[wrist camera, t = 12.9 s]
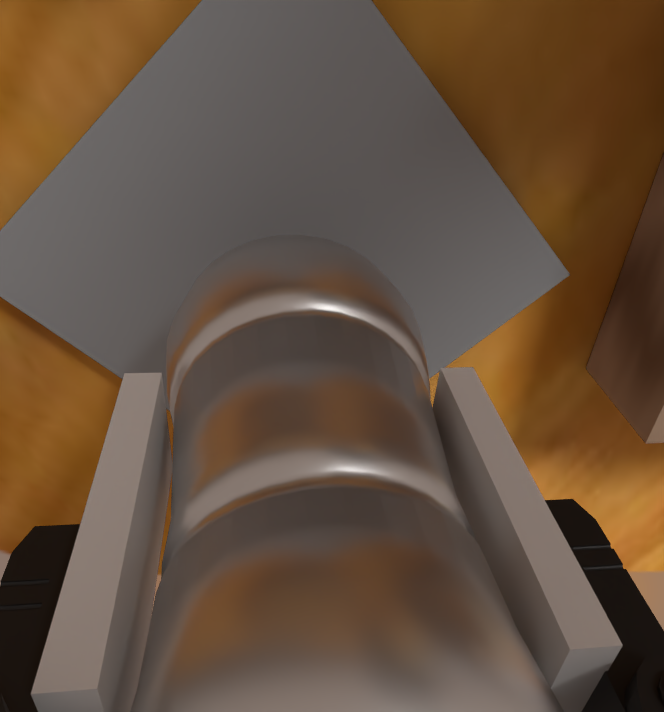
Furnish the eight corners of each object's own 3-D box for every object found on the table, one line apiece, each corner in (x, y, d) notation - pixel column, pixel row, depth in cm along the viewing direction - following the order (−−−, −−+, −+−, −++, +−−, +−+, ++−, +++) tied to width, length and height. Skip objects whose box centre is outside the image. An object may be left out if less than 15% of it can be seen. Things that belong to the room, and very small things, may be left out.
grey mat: (-27, 261, 19) (-36, 272, 18) (292, -104, 15) (294, -106, 14) (281, 473, 26) (282, 486, 25) (560, 264, 22) (570, 274, 21)
